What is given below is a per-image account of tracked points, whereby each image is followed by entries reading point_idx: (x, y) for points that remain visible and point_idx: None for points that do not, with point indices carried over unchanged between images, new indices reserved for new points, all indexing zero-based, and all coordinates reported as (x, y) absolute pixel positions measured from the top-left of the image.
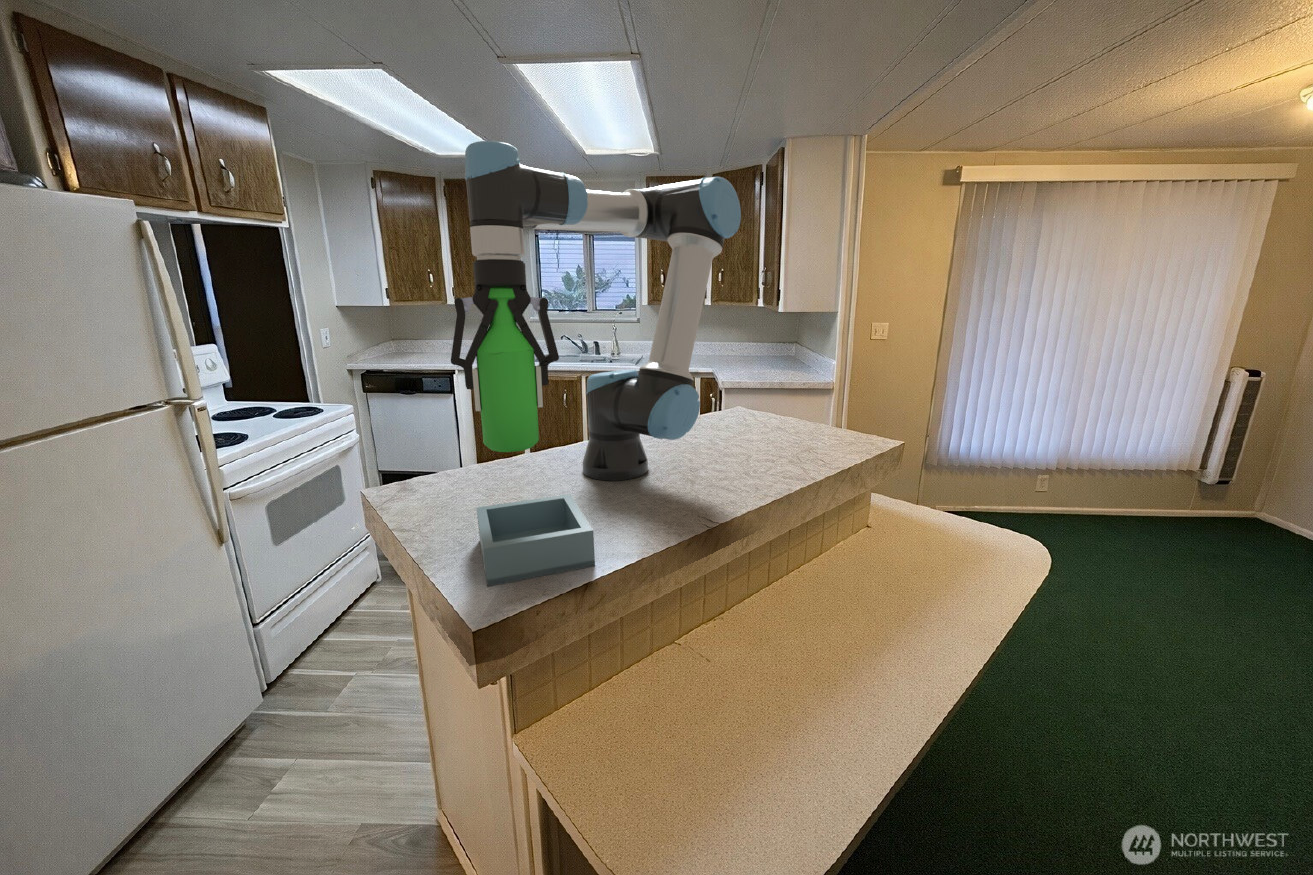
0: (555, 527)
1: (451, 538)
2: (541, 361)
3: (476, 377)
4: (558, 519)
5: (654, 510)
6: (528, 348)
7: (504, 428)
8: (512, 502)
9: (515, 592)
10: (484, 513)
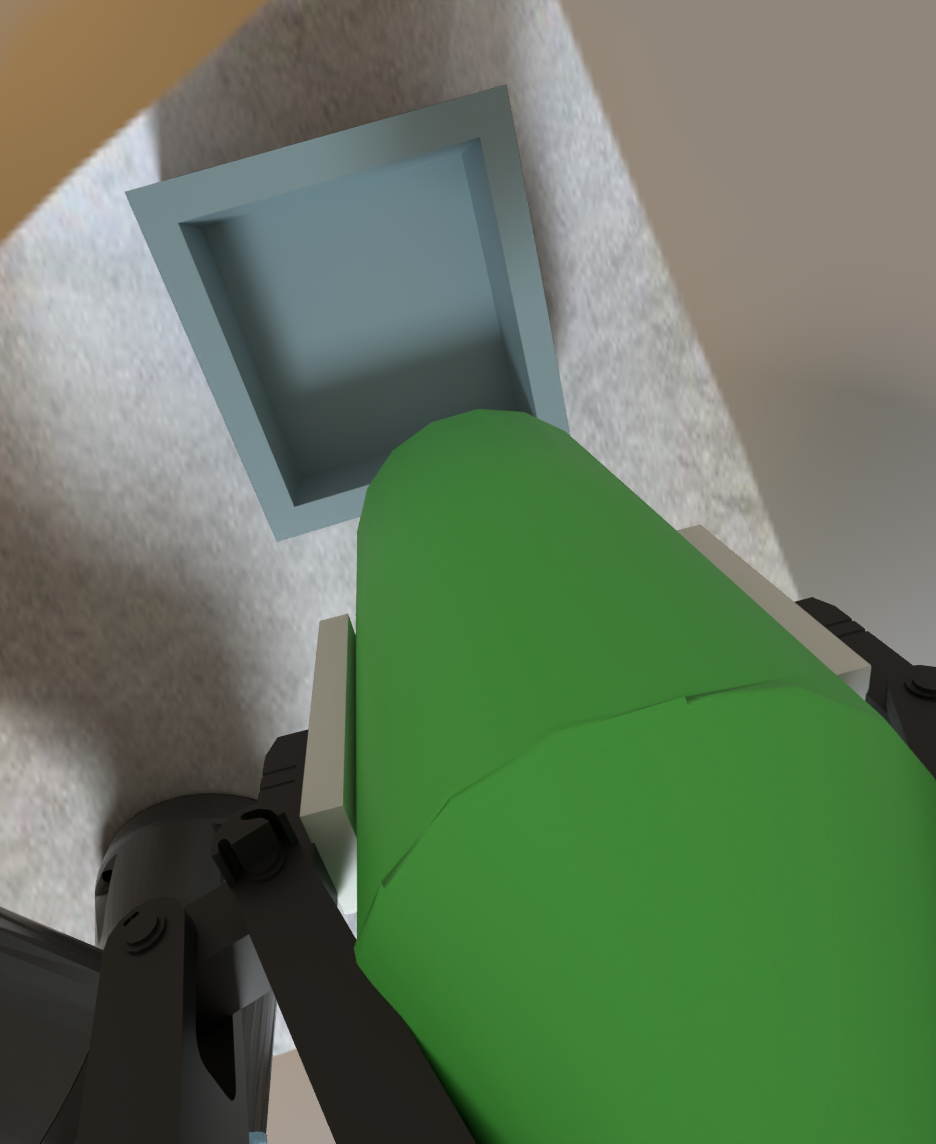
0: (329, 458)
1: (619, 445)
2: (289, 865)
3: (799, 633)
4: (319, 476)
5: (28, 588)
6: (395, 900)
7: (517, 435)
8: None
9: (390, 55)
10: (541, 399)
